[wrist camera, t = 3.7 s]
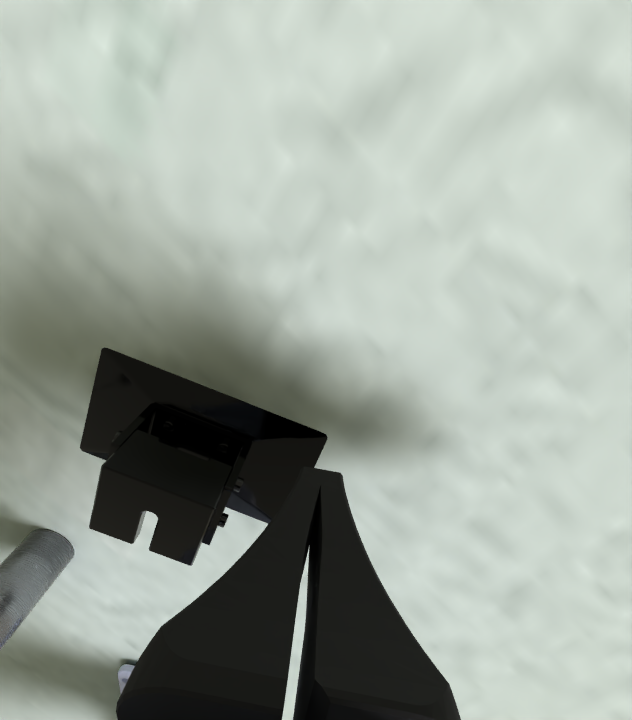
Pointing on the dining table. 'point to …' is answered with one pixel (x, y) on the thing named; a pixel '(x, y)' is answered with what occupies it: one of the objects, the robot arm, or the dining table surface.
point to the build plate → (185, 456)
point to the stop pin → (29, 576)
